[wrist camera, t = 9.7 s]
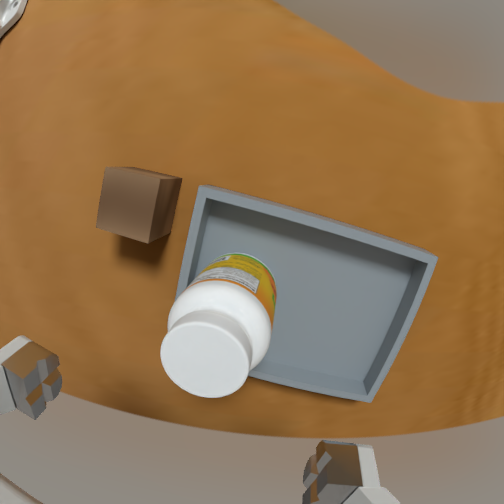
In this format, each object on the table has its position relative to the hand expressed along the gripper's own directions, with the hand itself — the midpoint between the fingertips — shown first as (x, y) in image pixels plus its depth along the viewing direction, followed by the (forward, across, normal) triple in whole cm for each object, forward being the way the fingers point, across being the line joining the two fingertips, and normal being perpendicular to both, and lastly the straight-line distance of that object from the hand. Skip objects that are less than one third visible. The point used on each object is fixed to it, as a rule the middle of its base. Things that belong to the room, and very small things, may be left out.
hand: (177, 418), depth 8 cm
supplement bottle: (+15, 0, +2) cm, 15 cm away
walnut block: (+15, +8, -3) cm, 18 cm away
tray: (+15, -4, +2) cm, 16 cm away
